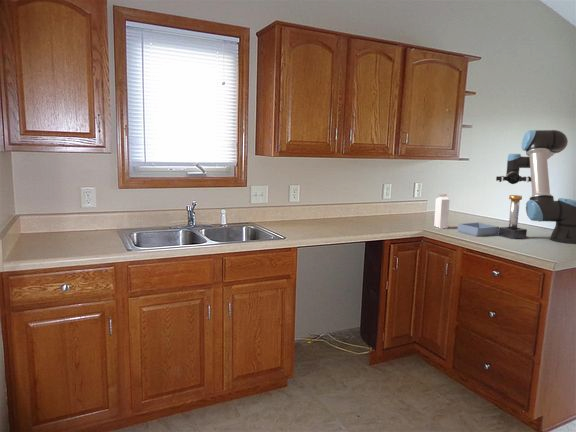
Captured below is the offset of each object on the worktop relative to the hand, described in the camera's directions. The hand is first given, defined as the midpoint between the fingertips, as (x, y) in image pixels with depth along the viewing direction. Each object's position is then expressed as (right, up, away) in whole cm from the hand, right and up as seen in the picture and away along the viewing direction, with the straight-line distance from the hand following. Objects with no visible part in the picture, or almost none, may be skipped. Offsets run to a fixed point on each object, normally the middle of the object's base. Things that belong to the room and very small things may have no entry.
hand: (515, 179), depth 256 cm
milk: (-39, -30, +16) cm, 52 cm away
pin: (-8, -34, -12) cm, 37 cm away
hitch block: (-8, -34, -12) cm, 37 cm away
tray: (-23, -33, -2) cm, 40 cm away
